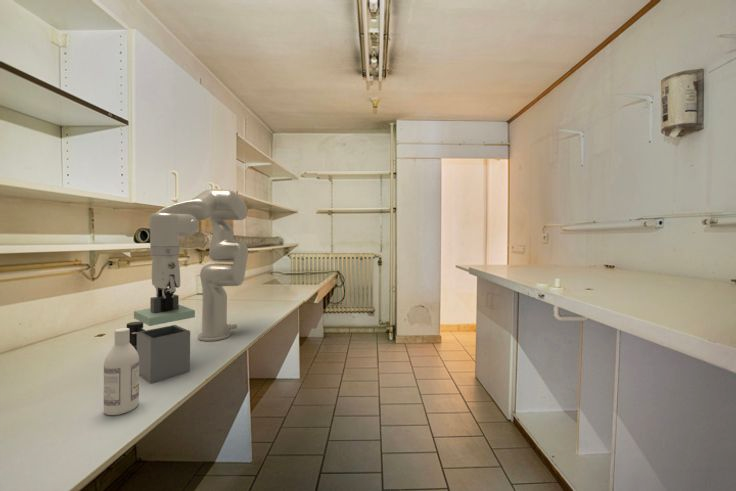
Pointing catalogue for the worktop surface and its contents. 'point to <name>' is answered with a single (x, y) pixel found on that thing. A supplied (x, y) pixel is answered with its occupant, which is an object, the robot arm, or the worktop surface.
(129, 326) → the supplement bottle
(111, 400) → the bath foam
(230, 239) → the robot arm
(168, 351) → the grey open storage bin
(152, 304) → the lid
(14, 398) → the worktop surface
